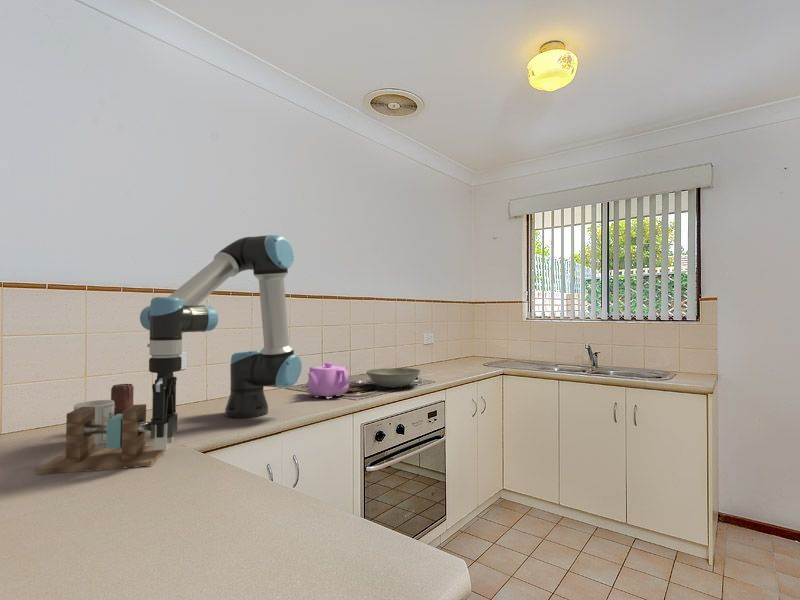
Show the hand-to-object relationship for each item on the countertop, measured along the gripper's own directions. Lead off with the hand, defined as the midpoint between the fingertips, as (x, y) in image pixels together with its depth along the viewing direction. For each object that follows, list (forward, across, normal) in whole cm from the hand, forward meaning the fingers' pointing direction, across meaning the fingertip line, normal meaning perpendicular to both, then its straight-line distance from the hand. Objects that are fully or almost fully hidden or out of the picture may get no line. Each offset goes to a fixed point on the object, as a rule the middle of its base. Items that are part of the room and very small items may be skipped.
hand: (164, 446), depth 115 cm
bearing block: (+3, 0, -13) cm, 13 cm away
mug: (+3, -19, -24) cm, 31 cm away
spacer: (-1, 0, -10) cm, 11 cm away
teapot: (+3, -75, +48) cm, 89 cm away
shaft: (-3, 0, -8) cm, 8 cm away
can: (+3, -34, -21) cm, 40 cm away
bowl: (+3, -93, +82) cm, 124 cm away
